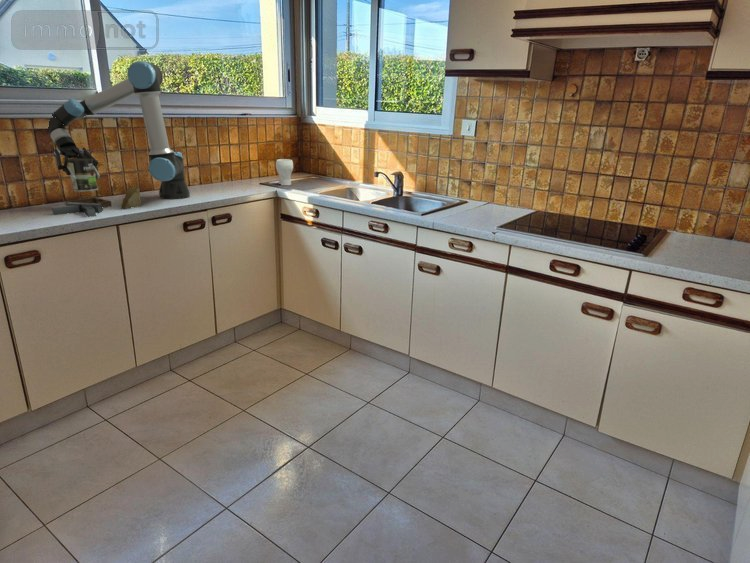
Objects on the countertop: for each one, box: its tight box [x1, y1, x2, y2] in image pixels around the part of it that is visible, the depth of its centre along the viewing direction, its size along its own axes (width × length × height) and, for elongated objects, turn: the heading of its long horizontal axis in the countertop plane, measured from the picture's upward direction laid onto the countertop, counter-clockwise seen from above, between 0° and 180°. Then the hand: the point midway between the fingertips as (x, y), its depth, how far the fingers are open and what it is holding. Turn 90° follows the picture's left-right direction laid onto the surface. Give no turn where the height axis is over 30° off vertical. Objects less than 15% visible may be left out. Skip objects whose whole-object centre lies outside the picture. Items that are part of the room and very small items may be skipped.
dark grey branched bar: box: [51, 202, 104, 218], centre depth 220 cm, size 11×20×4 cm, turn 85°
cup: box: [275, 158, 294, 186], centre depth 309 cm, size 11×11×15 cm
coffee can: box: [67, 158, 99, 193], centre depth 229 cm, size 10×10×14 cm
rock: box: [120, 185, 142, 210], centre depth 234 cm, size 11×9×10 cm
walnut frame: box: [64, 196, 112, 208], centre depth 234 cm, size 14×14×2 cm
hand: (87, 178), depth 228 cm, fingers closed on coffee can, 10 cm apart
